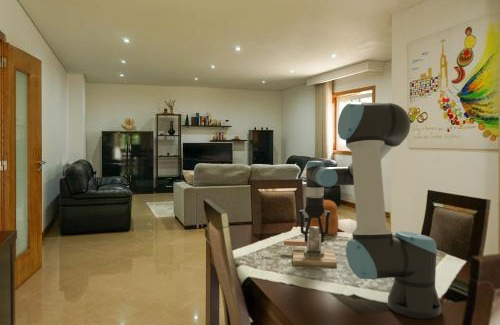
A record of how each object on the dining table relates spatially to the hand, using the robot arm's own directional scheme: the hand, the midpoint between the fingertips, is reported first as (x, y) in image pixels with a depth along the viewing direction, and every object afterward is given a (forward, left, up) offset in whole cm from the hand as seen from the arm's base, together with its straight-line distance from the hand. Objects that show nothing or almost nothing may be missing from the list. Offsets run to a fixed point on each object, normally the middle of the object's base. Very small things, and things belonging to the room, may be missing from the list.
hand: (313, 249), depth 166 cm
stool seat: (0, 0, -4) cm, 4 cm away
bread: (+57, -8, -5) cm, 58 cm away
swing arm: (+8, +6, 0) cm, 10 cm away
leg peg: (0, 0, 0) cm, 0 cm away
